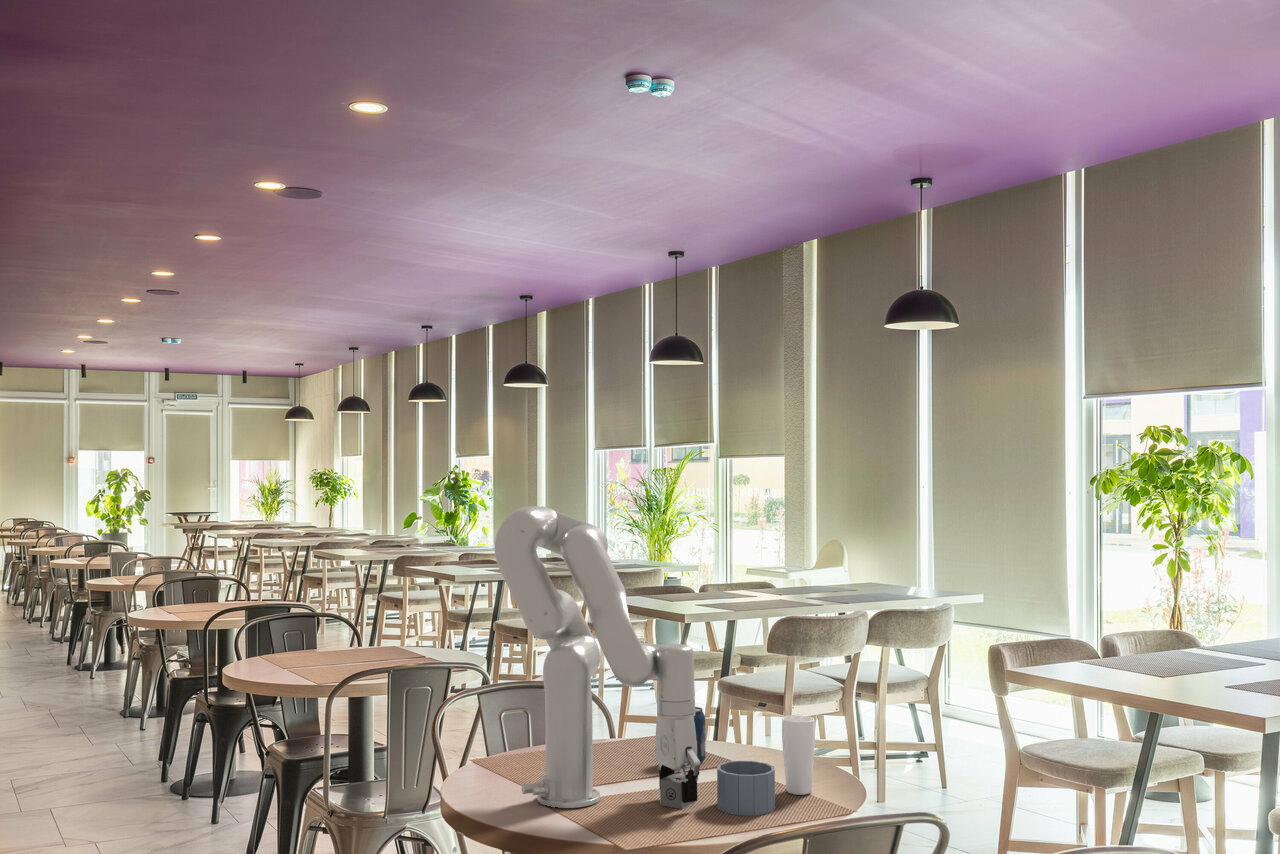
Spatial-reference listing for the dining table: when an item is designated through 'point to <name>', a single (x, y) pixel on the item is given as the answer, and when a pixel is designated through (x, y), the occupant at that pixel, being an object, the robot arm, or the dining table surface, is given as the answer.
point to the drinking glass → (798, 753)
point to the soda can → (700, 733)
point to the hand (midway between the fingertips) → (678, 795)
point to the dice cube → (672, 792)
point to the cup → (746, 788)
